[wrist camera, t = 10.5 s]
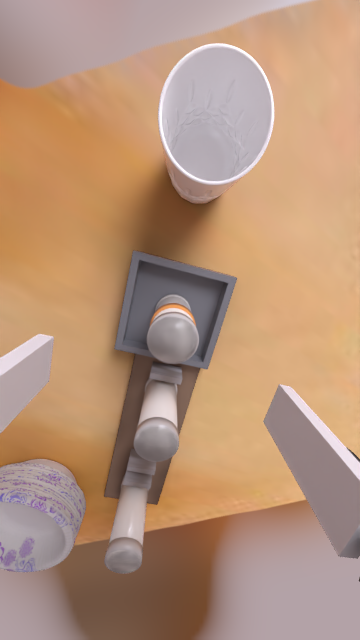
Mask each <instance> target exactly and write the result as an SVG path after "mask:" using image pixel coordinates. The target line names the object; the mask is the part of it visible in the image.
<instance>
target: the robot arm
mask: <svg viewBox="0 0 360 640" xmlns="http://www.w3.org/2000/svg"><path fill="white" fill-rule="evenodd" d="M53 341H54V337H52V336H48V335H43V334H38V335H36V336H35V337H33V338H31V339H30V340H28V341H27V342H25V343H23V344H22V345H20V346H19V347H17V348H15V349H14V350H12V351H11V352H9V353H7V354H6V355H4V356H3V357H1V358H0V433H1V432H2V431H3V430H4V429H5V428H6V427H7V426H8V425H9V424H10V423H11V422H12V420H13V419H14V418H15V417H16V416H17V415H18V414H19V413H20V412H21V411H22V410H23V409H24V408H25V406H26V405H27V404H28V403H29V402H30V401H31V400H32V399H33V398H34V397H35V396H36V395H37V394H38V393H39V391H40V390H41V389H42V388H43V387H44V386H45V385H46V384H47V383H48V382H49V377H50V368H51V359H52V350H53ZM263 422H264V424H265V426H266V427H267V429H268V431H269V433H270V435H271V436H272V438H273V440H274V442H275V443H276V445H277V447H278V449H279V451H280V452H281V454H282V456H283V458H284V460H285V461H286V463H287V465H288V467H289V469H290V470H291V472H292V474H293V476H294V477H295V479H296V481H297V483H298V485H299V486H300V488H301V490H302V492H303V494H304V495H305V497H306V499H307V501H308V502H309V504H310V506H311V508H312V510H313V511H314V513H315V515H316V517H317V519H318V520H319V522H320V524H321V525H322V527H323V529H324V531H325V533H326V535H327V536H328V538H329V540H330V542H331V544H332V545H333V547H334V549H335V551H336V552H337V554H338V556H340V557H349V558H358V557H359V556H360V459H359V458H358V457H357V456H356V455H355V454H354V453H353V452H352V451H350V450H349V449H348V448H347V447H345V446H344V445H343V444H342V443H341V441H340V440H339V439H338V438H337V437H336V436H335V435H334V434H333V433H332V432H331V430H330V429H329V428H328V427H327V426H326V425H325V424H324V423H323V422H322V421H321V419H320V418H319V417H318V416H317V415H316V414H315V413H314V412H313V411H312V410H311V408H310V407H309V406H308V405H307V404H306V403H305V402H304V401H303V400H302V399H301V397H300V396H299V395H298V394H297V393H296V392H295V391H294V390H293V389H292V388H291V387H289V386H285V385H280V384H279V386H278V388H277V391H276V393H275V395H274V398H273V400H272V402H271V405H270V407H269V409H268V412H267V414H266V416H265V419H264V421H263ZM359 581H360V579H359Z"/></svg>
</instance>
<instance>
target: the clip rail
mask: <svg viewBox="0 0 360 640" xmlns="http://www.w3.org/2000/svg"><path fill="white" fill-rule="evenodd" d="M199 370H200V368H198V367H194V366H189V365H185V364H180V363H177V364H168V363H164V362H162V361H160V360H158V359H156V358H153V357H148V356H144V355H139V354H135V358H134V363H133V367H132V372H131V376H130V381H129V385H128V390H127V394H126V399H125V403H124V408H123V412H122V417H121V422H120V426H119V431H118V435H117V440H116V444H115V449H114V453H113V458H112V462H111V467H110V471H109V476H108V480H107V485H106V490H105V494H104V497H111V498H117V499H119V496H120V492H121V484H122V480H123V477H124V475H125V478H124V483H123V485H127V486H133V487H139V488H146V489H149V491H148V498H147V503H149V504H156V505H157V504H158V501H159V497H160V494H161V491H162V488H163V485H164V481H165V478H166V475H167V472H168V469H169V465H170V462H171V459H172V457H171V458H169V459H167V460H164V461H159V462H153V461H148V460H146V459H144V458H142V457H141V456H139V455H138V454H137V452H136V451H135V448H134V439H135V434H136V430H137V427H138V424H139V419H140V414H141V409H142V404H143V399H144V394H145V386H146V382H147V380H148V378H149V377H150V378H151V379H155V380H160V381H165V382H170V383H175V384H177V429H178V434H180V430H181V427H182V424H183V421H184V418H185V414H186V411H187V408H188V405H189V402H190V398H191V395H192V392H193V389H194V386H195V383H196V379H197V376H198V373H199Z"/></svg>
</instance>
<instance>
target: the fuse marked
mask: <svg viewBox="0 0 360 640" xmlns="http://www.w3.org/2000/svg"><path fill="white" fill-rule="evenodd" d="M198 344H199V335H198V331H197V328H196V323H195V320H194V317H193V315H192V313H191V309H190V305H189V303H188V301H187V300H186V299H185V298H184V297H182V296H181V295H178V294H168V295H165V296H164V297H162V298H161V299H160V300H159V301H158V303H157V305H156V309H155V313H154V314H153V317H152V320H151V323H150V328H149V331H148V334H147V345H148V348H149V350H150V352H151V354H152V355H153V356H154V357H155V358H156V359H158V360H160V361H162V362H164V363H168V364H177V363H181V362H184V361H186V360H188V359H189V358H190V357H192V356H193V354H194V353H195V352H196V350H197V347H198Z"/></svg>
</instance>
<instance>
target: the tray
mask: <svg viewBox="0 0 360 640" xmlns="http://www.w3.org/2000/svg"><path fill="white" fill-rule="evenodd" d="M236 280H237V278H236V277H234V276H231V275H227V274H223V273H219V272H216V271H212V270H208V269H204V268H200V267H197V266H193V265H189V264H185V263H182V262H178V261H174V260H170V259H166V258H163V257H159V256H155V255H151V254H148V253H144V252H140V251H133V255H132V260H131V265H130V271H129V276H128V281H127V286H126V291H125V297H124V302H123V307H122V312H121V318H120V323H119V328H118V333H117V339H116V344H115V349H116V350H121V351H125V352H130V353H135V354H139V355H144V356H148V357H153V358H155V357H154V356H153V355H152V354H151V352H150V350H149V348H148V345H147V334H148V331H149V328H150V323H151V320H152V317H153V314H154V313H155V309H156V305H157V303H158V301H159V300H160V299H161V298H162V297H164V296H165V295H168V294H178V295H181V296H182V297H184V298H185V299H186V300H187V301H188V303H189V305H190V309H191V313H192V315H193V317H194V320H195V323H196V328H197V331H198V335H199V344H198V347H197V350H196V352H195V353H194V354H193V356H192V357H190V358H189V359H188V360H186V361H184V362H181V363H180V364H185V365H189V366H194V367H198V368H203V369H208V367H209V363H210V360H211V357H212V354H213V351H214V348H215V345H216V342H217V339H218V336H219V333H220V330H221V326H222V323H223V320H224V317H225V314H226V311H227V308H228V305H229V302H230V299H231V296H232V293H233V289H234V286H235V283H236Z"/></svg>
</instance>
